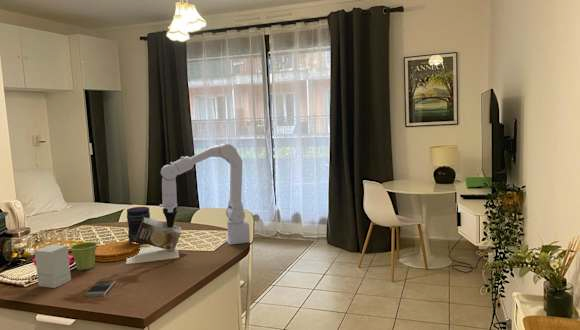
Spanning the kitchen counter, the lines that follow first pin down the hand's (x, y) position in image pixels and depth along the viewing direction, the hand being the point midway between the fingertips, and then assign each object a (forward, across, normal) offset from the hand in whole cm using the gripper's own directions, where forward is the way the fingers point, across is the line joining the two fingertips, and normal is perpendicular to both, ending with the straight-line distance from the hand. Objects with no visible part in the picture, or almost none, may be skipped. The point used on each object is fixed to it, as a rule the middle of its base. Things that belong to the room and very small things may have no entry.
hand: (170, 226), depth 180 cm
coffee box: (+6, +1, +3) cm, 7 cm away
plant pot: (+12, +9, -32) cm, 35 cm away
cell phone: (+12, +34, -24) cm, 43 cm away
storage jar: (+11, -20, -13) cm, 27 cm away
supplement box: (+12, +22, -40) cm, 47 cm away
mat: (+11, +2, -7) cm, 13 cm away
